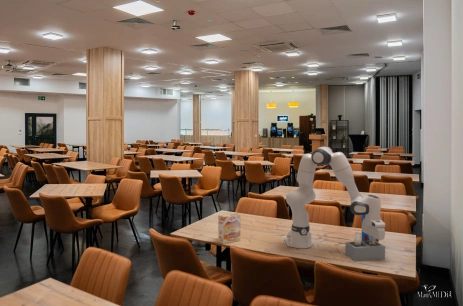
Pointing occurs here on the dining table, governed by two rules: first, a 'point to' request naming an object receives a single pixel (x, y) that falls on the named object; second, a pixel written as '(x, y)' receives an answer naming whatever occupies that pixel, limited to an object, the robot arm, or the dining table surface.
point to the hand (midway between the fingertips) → (372, 242)
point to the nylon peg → (357, 239)
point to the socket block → (365, 251)
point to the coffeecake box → (229, 228)
